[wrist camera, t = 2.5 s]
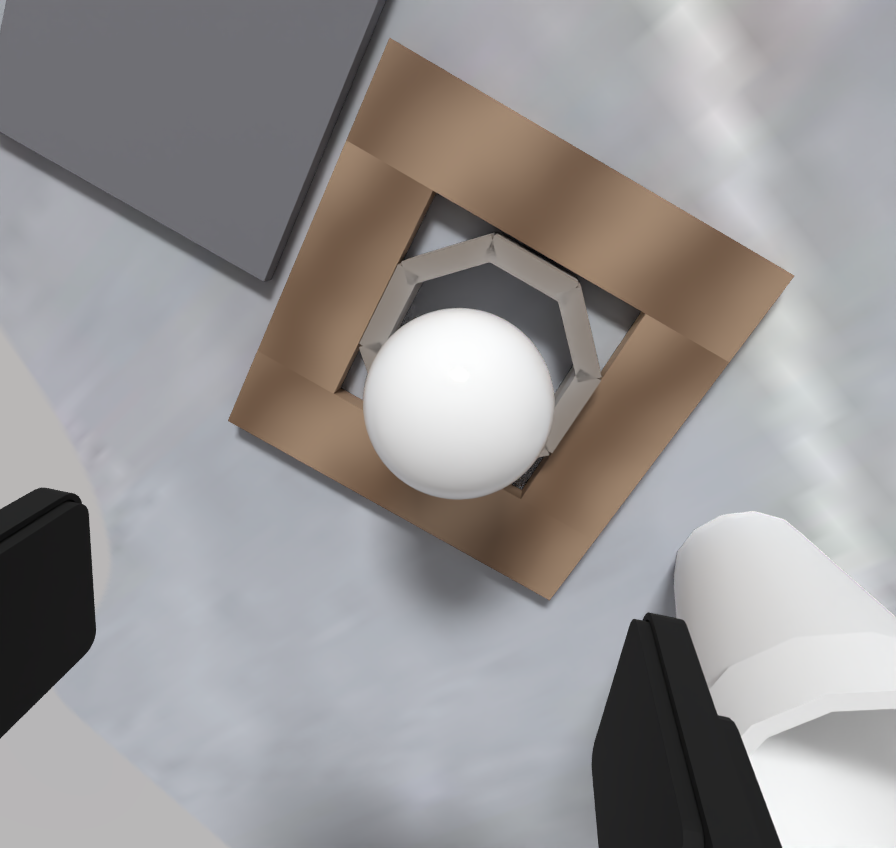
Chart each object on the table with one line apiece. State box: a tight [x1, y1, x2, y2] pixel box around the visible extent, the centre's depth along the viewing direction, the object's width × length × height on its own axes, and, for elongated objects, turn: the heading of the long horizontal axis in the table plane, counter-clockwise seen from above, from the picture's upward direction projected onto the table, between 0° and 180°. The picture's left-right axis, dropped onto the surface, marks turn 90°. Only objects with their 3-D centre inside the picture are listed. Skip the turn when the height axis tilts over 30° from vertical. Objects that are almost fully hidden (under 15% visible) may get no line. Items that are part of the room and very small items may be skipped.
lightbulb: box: [363, 308, 555, 500], centre depth 23 cm, size 6×6×11 cm
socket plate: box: [228, 38, 794, 600], centre depth 27 cm, size 18×18×2 cm
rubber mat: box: [0, 0, 386, 282], centre depth 26 cm, size 14×14×1 cm
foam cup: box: [674, 511, 896, 848], centre depth 24 cm, size 10×9×13 cm
